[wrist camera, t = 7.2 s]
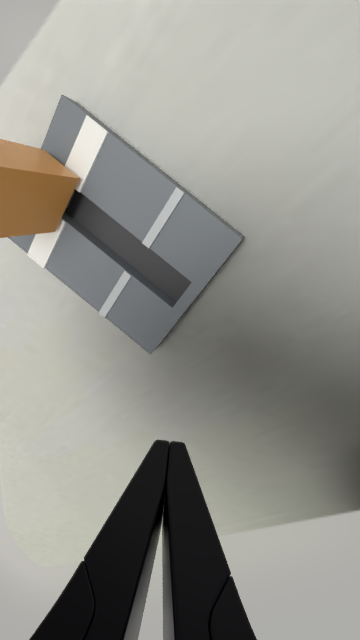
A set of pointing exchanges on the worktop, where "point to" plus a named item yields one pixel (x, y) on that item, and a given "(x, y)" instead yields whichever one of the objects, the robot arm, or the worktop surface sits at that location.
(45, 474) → the worktop surface
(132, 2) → the worktop surface
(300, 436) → the worktop surface
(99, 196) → the fader console
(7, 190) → the fader tab
